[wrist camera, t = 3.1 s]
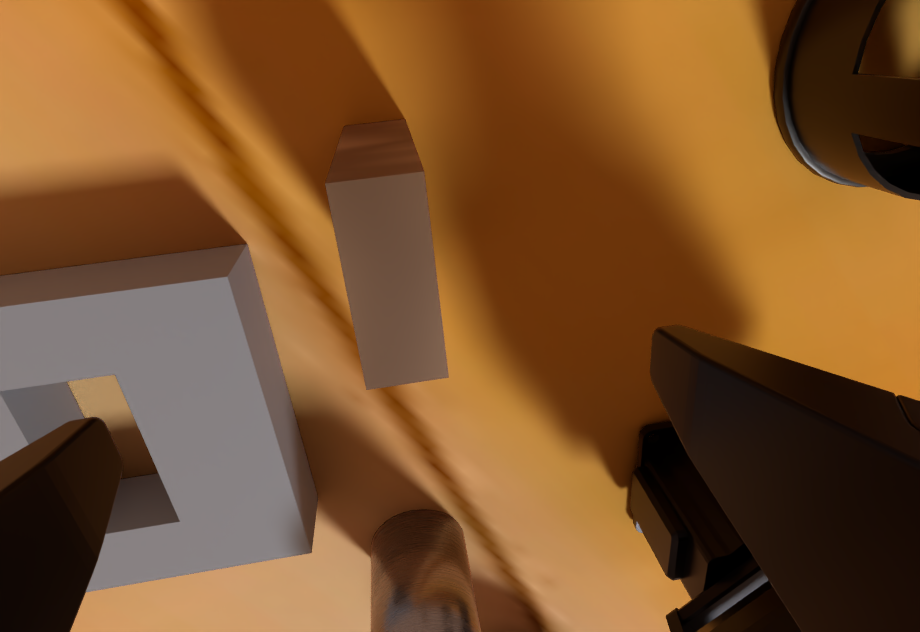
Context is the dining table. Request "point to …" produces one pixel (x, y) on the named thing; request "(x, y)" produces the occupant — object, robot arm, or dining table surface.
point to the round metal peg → (421, 576)
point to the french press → (845, 100)
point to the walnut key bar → (387, 253)
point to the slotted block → (167, 405)
